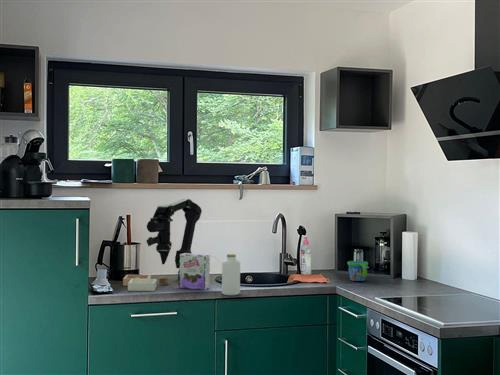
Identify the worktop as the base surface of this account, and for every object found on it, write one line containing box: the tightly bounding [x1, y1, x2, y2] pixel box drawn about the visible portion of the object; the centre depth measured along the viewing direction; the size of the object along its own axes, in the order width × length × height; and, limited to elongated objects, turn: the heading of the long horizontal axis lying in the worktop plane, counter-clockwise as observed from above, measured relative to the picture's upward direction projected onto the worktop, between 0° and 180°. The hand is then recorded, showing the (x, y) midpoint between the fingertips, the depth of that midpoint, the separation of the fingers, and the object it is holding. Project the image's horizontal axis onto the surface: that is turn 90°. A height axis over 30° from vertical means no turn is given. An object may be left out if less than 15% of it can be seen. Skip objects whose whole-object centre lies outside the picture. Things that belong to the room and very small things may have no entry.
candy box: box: [178, 253, 211, 291], centre depth 289 cm, size 14×6×16 cm, turn 70°
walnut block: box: [158, 276, 169, 286], centre depth 295 cm, size 4×4×4 cm
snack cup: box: [347, 260, 369, 282], centre depth 317 cm, size 16×10×10 cm
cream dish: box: [127, 278, 158, 293], centre depth 283 cm, size 12×12×4 cm
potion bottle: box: [221, 253, 241, 296], centre depth 275 cm, size 8×8×18 cm
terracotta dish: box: [122, 274, 152, 287], centre depth 296 cm, size 12×12×4 cm
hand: (163, 263), depth 295 cm, fingers open, 9 cm apart
